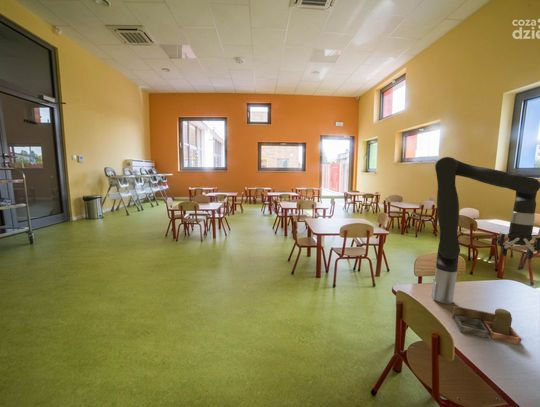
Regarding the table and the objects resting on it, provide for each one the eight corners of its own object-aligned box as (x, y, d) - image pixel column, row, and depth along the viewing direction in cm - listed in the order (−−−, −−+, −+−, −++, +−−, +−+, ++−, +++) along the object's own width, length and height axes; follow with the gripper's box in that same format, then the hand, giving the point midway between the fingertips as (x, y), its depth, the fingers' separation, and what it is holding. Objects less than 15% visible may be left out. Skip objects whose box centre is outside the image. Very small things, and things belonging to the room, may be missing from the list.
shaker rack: (459, 331, 112) (460, 318, 112) (452, 317, 123) (454, 306, 122) (521, 345, 105) (524, 331, 104) (508, 329, 115) (511, 316, 114)
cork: (486, 330, 114) (490, 306, 112) (499, 329, 114) (503, 306, 113) (499, 339, 108) (503, 314, 106) (513, 338, 108) (517, 314, 107)
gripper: (505, 222, 116) (499, 257, 118) (548, 225, 110) (541, 262, 113) (498, 219, 123) (493, 252, 125) (538, 222, 117) (531, 257, 120)
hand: (516, 257), depth 119 cm, fingers open, 8 cm apart
